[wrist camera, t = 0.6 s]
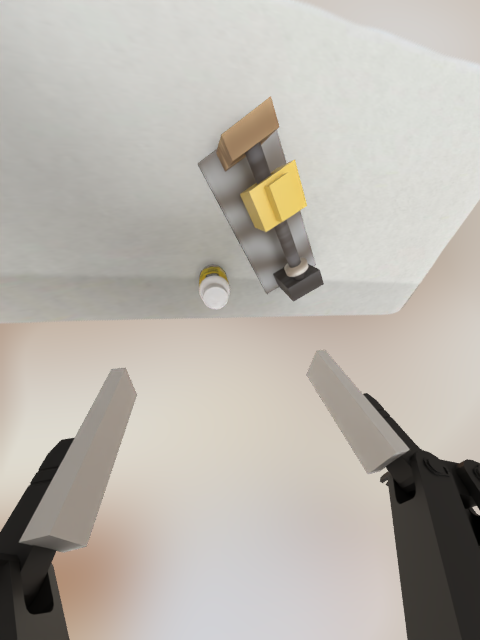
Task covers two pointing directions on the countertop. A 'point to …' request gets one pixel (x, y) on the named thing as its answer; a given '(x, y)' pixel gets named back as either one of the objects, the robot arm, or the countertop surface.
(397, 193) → the countertop surface
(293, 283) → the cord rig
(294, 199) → the sleeve
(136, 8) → the countertop surface
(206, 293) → the supplement bottle
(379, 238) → the countertop surface
